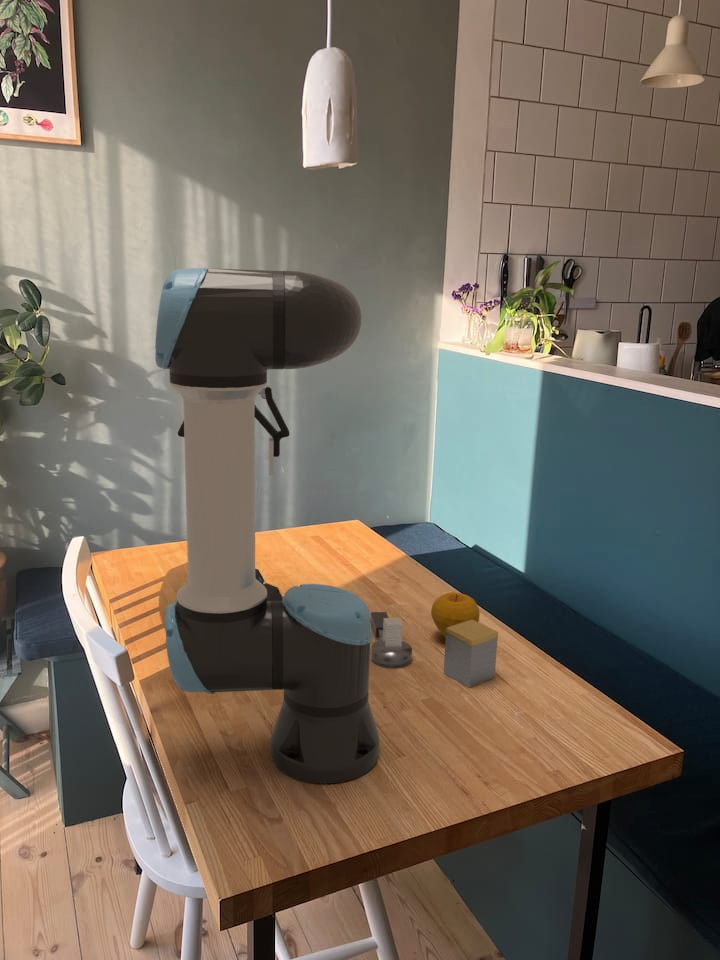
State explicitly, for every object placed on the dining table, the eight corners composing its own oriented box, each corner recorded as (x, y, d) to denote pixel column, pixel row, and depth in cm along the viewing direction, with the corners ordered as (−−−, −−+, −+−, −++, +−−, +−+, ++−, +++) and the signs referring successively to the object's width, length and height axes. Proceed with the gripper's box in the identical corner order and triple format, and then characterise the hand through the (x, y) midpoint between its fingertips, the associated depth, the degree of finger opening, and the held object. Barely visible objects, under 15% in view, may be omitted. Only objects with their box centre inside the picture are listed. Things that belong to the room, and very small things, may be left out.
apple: (420, 633, 150) (422, 588, 148) (459, 625, 154) (462, 581, 152) (446, 654, 142) (449, 606, 140) (488, 644, 146) (491, 598, 144)
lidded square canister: (494, 677, 134) (498, 631, 132) (469, 687, 131) (472, 641, 129) (469, 663, 139) (471, 619, 137) (443, 673, 135) (446, 627, 133)
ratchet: (415, 667, 137) (416, 629, 135) (374, 668, 136) (375, 630, 134) (395, 621, 155) (397, 587, 153) (359, 622, 154) (361, 588, 152)
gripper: (301, 358, 151) (300, 468, 156) (165, 356, 147) (168, 469, 153) (303, 362, 143) (302, 478, 149) (160, 360, 140) (164, 478, 145)
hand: (234, 473), depth 151 cm, fingers open, 13 cm apart
